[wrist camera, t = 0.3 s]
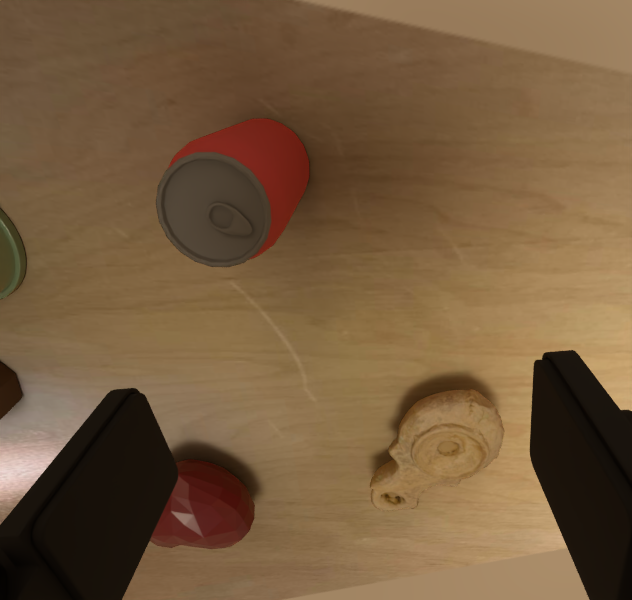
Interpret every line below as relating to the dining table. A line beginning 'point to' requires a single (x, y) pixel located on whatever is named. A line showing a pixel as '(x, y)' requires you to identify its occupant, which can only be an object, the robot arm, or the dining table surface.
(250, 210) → the beer can
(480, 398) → the oil lamp
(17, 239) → the cup stack
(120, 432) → the robot arm
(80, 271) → the dining table surface
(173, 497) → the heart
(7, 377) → the beer bottle
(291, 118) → the dining table surface
